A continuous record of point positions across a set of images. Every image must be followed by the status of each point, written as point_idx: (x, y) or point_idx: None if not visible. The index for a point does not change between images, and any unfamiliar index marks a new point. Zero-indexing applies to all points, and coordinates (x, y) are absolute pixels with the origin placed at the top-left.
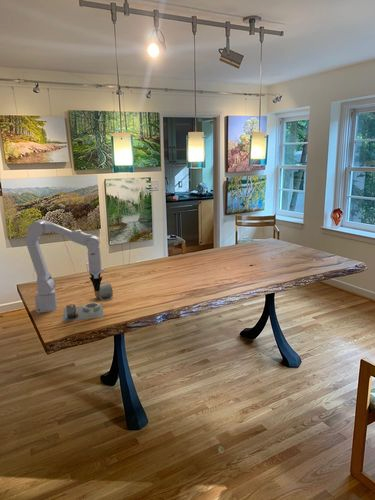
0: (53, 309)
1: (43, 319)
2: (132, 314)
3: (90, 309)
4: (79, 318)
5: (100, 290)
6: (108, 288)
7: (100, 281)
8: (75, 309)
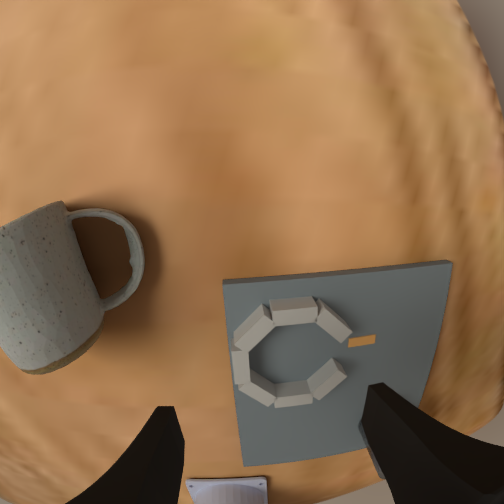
0: (255, 493)
1: (324, 490)
2: (443, 77)
3: (309, 355)
4: (413, 385)
5: (73, 327)
6: (37, 252)
7: (489, 446)
8: None
